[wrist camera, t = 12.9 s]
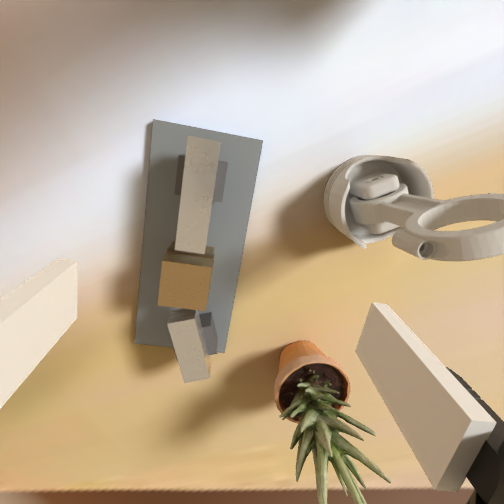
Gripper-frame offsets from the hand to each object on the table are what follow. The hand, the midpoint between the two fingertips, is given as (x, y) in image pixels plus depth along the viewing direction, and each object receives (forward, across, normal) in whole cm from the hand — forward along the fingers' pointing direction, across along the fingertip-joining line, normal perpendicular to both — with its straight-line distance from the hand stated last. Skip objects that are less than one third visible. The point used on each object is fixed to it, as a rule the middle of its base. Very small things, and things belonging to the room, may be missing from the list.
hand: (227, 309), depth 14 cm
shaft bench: (+26, -4, -7) cm, 27 cm away
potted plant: (+26, +14, -21) cm, 36 cm away
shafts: (+21, -2, -7) cm, 22 cm away
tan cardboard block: (+25, -4, -8) cm, 26 cm away
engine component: (+26, +16, +3) cm, 31 cm away
